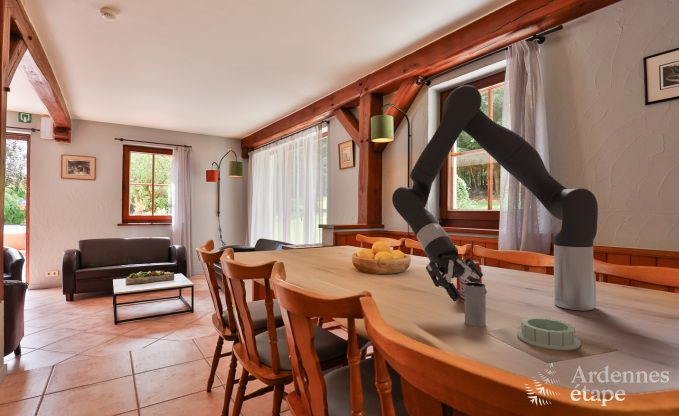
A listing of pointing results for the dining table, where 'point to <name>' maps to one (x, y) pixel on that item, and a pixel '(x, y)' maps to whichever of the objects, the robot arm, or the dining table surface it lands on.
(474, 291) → the grey hollow cylinder
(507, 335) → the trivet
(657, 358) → the dining table surface
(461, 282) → the soda can
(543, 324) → the holder
